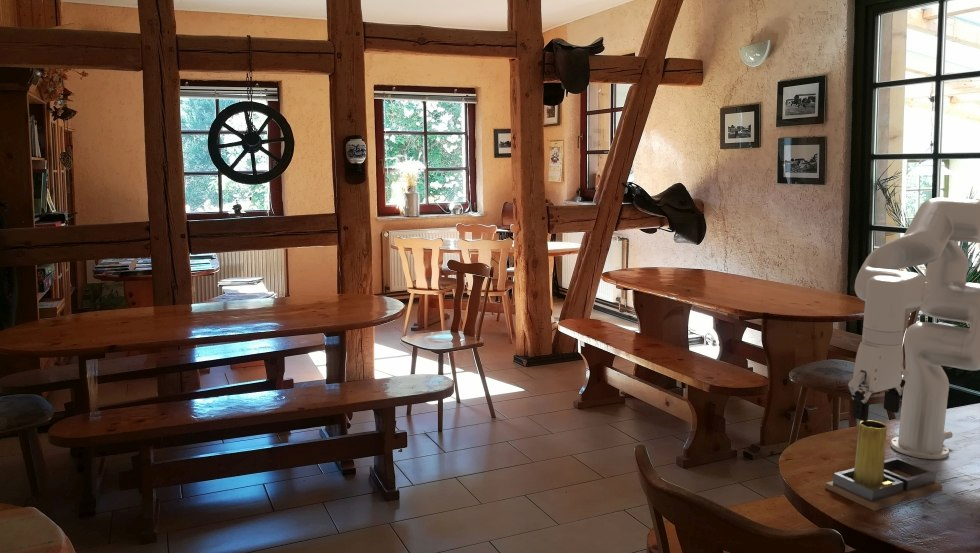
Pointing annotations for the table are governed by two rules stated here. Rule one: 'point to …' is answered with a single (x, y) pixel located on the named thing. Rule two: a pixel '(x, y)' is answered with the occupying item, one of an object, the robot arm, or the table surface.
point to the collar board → (890, 500)
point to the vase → (870, 453)
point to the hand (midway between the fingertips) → (875, 414)
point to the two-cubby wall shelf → (887, 480)
